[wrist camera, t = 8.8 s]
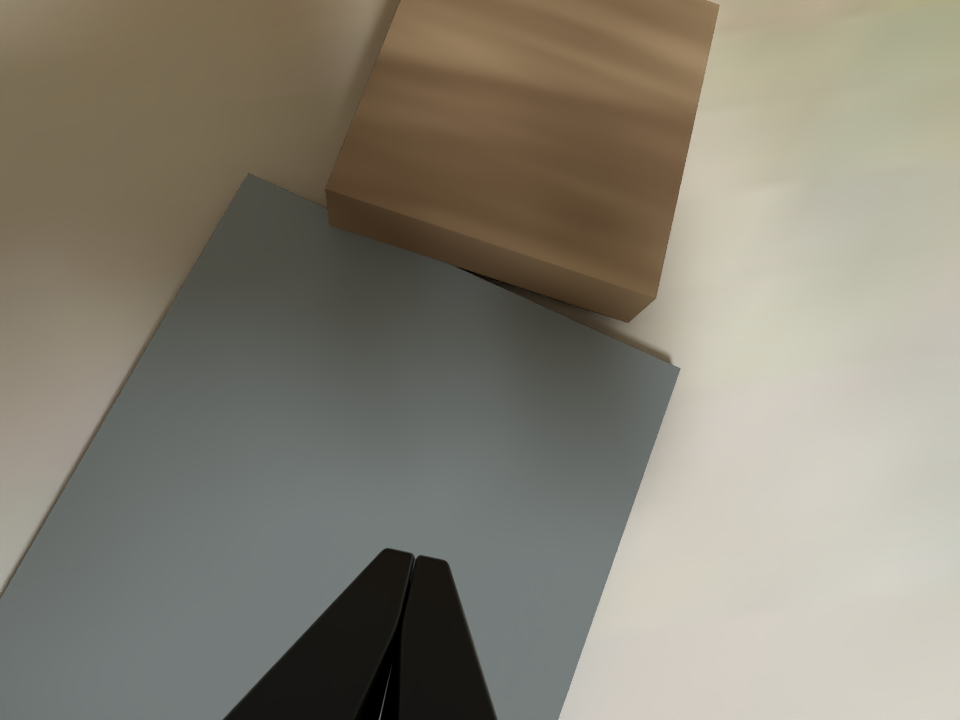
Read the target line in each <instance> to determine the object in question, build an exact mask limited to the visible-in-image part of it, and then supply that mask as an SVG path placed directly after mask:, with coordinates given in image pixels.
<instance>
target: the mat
mask: <svg viewBox="0 0 960 720" xmlns="http://www.w3.org/2000/svg"><path fill="white" fill-rule="evenodd" d="M679 371H680V368H678V367H676V366H674V365H672V364H669V363H667V362H665V361H663V360H661V359H658V358H656V357H654V356H652V355H649V354H647V353H645V352H643V351H641V350H638V349H636V348H634V347H632V346H630V345H627V344H625V343H623V342H621V341H619V340H616V339H614V338H612V337H610V336H607V335H605V334H603V333H601V332H599V331H596V330H594V329H592V328H590V327H588V326H585V325H583V324H581V323H579V322H577V321H574V320H572V319H570V318H568V317H565V316H563V315H561V314H559V313H557V312H554V311H552V310H550V309H548V308H546V307H543V306H541V305H539V304H537V303H535V302H532V301H530V300H528V299H526V298H523V297H521V296H519V295H517V294H515V293H512V292H510V291H508V290H506V289H504V288H501V287H499V286H497V285H495V284H493V283H490V282H488V281H486V280H484V279H481V278H479V277H477V276H475V275H473V274H470V273H468V272H466V271H464V270H462V269H459V268H457V267H455V266H453V265H451V264H448V263H444V262H441V261H438V260H435V259H432V258H429V257H426V256H423V255H420V254H417V253H414V252H411V251H408V250H405V249H402V248H399V247H396V246H393V245H390V244H387V243H383V242H380V241H377V240H374V239H371V238H368V237H365V236H362V235H359V234H356V233H353V232H350V231H347V230H344V229H341V228H338V227H335V226H332V225H329V218H328V209H327V208H325V207H322V206H320V205H318V204H316V203H314V202H311V201H309V200H307V199H305V198H302V197H300V196H298V195H296V194H294V193H291V192H289V191H287V190H285V189H283V188H280V187H278V186H276V185H274V184H272V183H269V182H267V181H265V180H263V179H260V178H258V177H256V176H254V175H252V174H249V173H248V175H247V176H246V178H245V180H244V182H243V183H242V185H241V187H240V188H239V190H238V192H237V194H236V195H235V197H234V199H233V200H232V202H231V204H230V206H229V207H228V209H227V211H226V212H225V214H224V216H223V218H222V219H221V221H220V223H219V224H218V226H217V228H216V230H215V231H214V233H213V235H212V236H211V238H210V240H209V242H208V243H207V245H206V247H205V248H204V250H203V252H202V254H201V255H200V257H199V259H198V260H197V262H196V264H195V266H194V267H193V269H192V271H191V272H190V274H189V276H188V278H187V279H186V281H185V283H184V284H183V286H182V288H181V290H180V291H179V293H178V295H177V296H176V298H175V300H174V302H173V303H172V305H171V307H170V308H169V310H168V312H167V314H166V315H165V317H164V319H163V320H162V322H161V324H160V326H159V327H158V329H157V331H156V332H155V334H154V336H153V338H152V339H151V341H150V343H149V344H148V346H147V348H146V350H145V351H144V353H143V355H142V356H141V358H140V360H139V362H138V363H137V365H136V367H135V368H134V370H133V372H132V374H131V375H130V377H129V379H128V380H127V382H126V384H125V386H124V387H123V389H122V391H121V392H120V394H119V396H118V398H117V399H116V401H115V403H114V404H113V406H112V408H111V410H110V411H109V413H108V415H107V416H106V418H105V420H104V422H103V423H102V425H101V427H100V428H99V430H98V432H97V434H96V435H95V437H94V439H93V440H92V442H91V444H90V446H89V447H88V449H87V451H86V452H85V454H84V456H83V458H82V459H81V461H80V463H79V464H78V466H77V468H76V470H75V471H74V473H73V475H72V477H71V478H70V480H69V482H68V483H67V485H66V487H65V489H64V490H63V492H62V494H61V495H60V497H59V499H58V501H57V502H56V504H55V506H54V507H53V509H52V511H51V513H50V514H49V516H48V518H47V519H46V521H45V523H44V525H43V526H42V528H41V530H40V531H39V533H38V535H37V537H36V538H35V540H34V542H33V543H32V545H31V547H30V549H29V550H28V552H27V554H26V555H25V557H24V559H23V561H22V562H21V564H20V566H19V567H18V569H17V571H16V573H15V574H14V576H13V578H12V579H11V581H10V583H9V585H8V586H7V588H6V590H5V591H4V593H3V595H2V597H1V598H0V720H222V719H223V718H224V717H225V716H226V715H227V714H228V713H229V712H230V711H231V710H232V709H233V708H234V707H235V706H236V704H237V703H238V702H239V701H240V700H241V699H242V698H243V697H244V696H245V695H246V694H247V693H248V692H249V691H250V690H251V689H252V688H253V686H254V685H255V684H256V683H257V682H258V681H259V680H260V679H261V678H262V677H263V676H264V675H265V674H266V673H267V672H268V671H269V669H270V668H271V667H272V666H273V665H274V664H275V663H276V662H277V661H278V660H279V659H280V658H281V657H282V656H283V655H284V654H285V653H286V651H287V650H288V649H289V648H290V647H291V646H292V645H293V644H294V643H295V642H296V641H297V640H298V639H299V638H300V637H301V636H302V634H303V633H304V632H305V631H306V630H307V629H308V628H309V627H310V626H311V625H312V624H313V623H314V622H315V621H316V620H317V619H318V617H319V616H320V615H321V614H322V613H323V612H324V611H325V610H326V609H327V608H328V607H329V606H330V605H331V604H332V603H333V602H334V601H335V599H336V598H337V597H338V596H339V595H340V594H341V593H342V592H343V591H344V590H345V589H346V588H347V587H348V586H349V585H350V584H351V582H352V581H353V580H354V579H355V578H356V577H357V576H358V575H359V574H360V573H361V572H362V571H363V570H364V569H365V568H366V567H367V566H368V564H369V563H370V562H371V561H372V560H373V559H374V558H375V557H376V556H377V555H378V554H379V553H380V552H381V551H382V550H383V549H385V548H392V549H396V550H401V551H406V552H410V553H413V554H414V556H415V560H416V558H417V557H418V556H419V555H424V556H429V557H434V558H438V559H443V560H446V561H447V562H448V564H449V566H450V569H451V572H452V575H453V578H454V581H455V584H456V588H457V591H458V594H459V597H460V600H461V603H462V607H463V610H464V613H465V616H466V619H467V622H468V626H469V629H470V632H471V635H472V638H473V641H474V645H475V648H476V651H477V654H478V657H479V660H480V664H481V667H482V670H483V673H484V676H485V679H486V683H487V686H488V689H489V692H490V695H491V698H492V702H493V705H494V708H495V711H496V714H497V717H498V720H558V718H559V715H560V713H561V710H562V707H563V704H564V701H565V698H566V695H567V692H568V690H569V687H570V684H571V681H572V678H573V675H574V672H575V669H576V667H577V664H578V661H579V658H580V655H581V652H582V649H583V647H584V644H585V641H586V638H587V635H588V632H589V629H590V626H591V624H592V621H593V618H594V615H595V612H596V609H597V606H598V603H599V601H600V598H601V595H602V592H603V589H604V586H605V583H606V581H607V578H608V575H609V572H610V569H611V566H612V563H613V560H614V558H615V555H616V552H617V549H618V546H619V543H620V540H621V537H622V535H623V532H624V529H625V526H626V523H627V520H628V517H629V515H630V512H631V509H632V506H633V503H634V500H635V497H636V494H637V492H638V489H639V486H640V483H641V480H642V477H643V474H644V472H645V469H646V466H647V463H648V460H649V457H650V454H651V451H652V449H653V446H654V443H655V440H656V437H657V434H658V431H659V428H660V426H661V423H662V420H663V417H664V414H665V411H666V408H667V406H668V403H669V400H670V397H671V394H672V391H673V388H674V385H675V383H676V380H677V377H678V374H679ZM414 563H415V562H414ZM413 568H414V567H413ZM412 572H413V571H412ZM410 581H411V580H410ZM389 675H390V674H389ZM388 680H389V679H388ZM387 684H388V683H387ZM386 689H387V688H386ZM385 693H386V692H385ZM384 698H385V697H384ZM383 703H384V701H383ZM382 707H383V705H382ZM381 712H382V710H381ZM380 717H381V714H380ZM379 720H380V718H379Z"/></svg>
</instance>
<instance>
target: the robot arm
mask: <svg viewBox="0 0 960 720" xmlns="http://www.w3.org/2000/svg"><path fill="white" fill-rule="evenodd" d="M414 562H415V563H414ZM413 567H414V568H413ZM412 571H413V572H412ZM410 580H411V581H410ZM389 674H390V675H389ZM388 679H389V680H388ZM387 683H388V684H387ZM386 688H387V689H386ZM385 692H386V693H385ZM384 697H385V698H384ZM383 701H384V703H383ZM382 705H383V707H382ZM381 710H382V712H381ZM380 714H381V717H380ZM379 718H380V720H498V717H497V714H496V711H495V708H494V705H493V702H492V698H491V695H490V692H489V689H488V686H487V683H486V679H485V676H484V673H483V670H482V667H481V664H480V660H479V657H478V654H477V651H476V648H475V645H474V641H473V638H472V635H471V632H470V629H469V626H468V622H467V619H466V616H465V613H464V610H463V607H462V603H461V600H460V597H459V594H458V591H457V588H456V584H455V581H454V578H453V575H452V572H451V569H450V566H449V564H448V562H447V561H446V560H443V559H438V558H434V557H429V556H424V555H419V556H418V557H417V558H416V560H415V556H414V554H413V553H410V552H406V551H401V550H396V549H392V548H385V549H383V550H382V551H381V552H380V553H379V554H378V555H377V556H376V557H375V558H374V559H373V560H372V561H371V562H370V563H369V564H368V566H367V567H366V568H365V569H364V570H363V571H362V572H361V573H360V574H359V575H358V576H357V577H356V578H355V579H354V580H353V581H352V582H351V584H350V585H349V586H348V587H347V588H346V589H345V590H344V591H343V592H342V593H341V594H340V595H339V596H338V597H337V598H336V599H335V601H334V602H333V603H332V604H331V605H330V606H329V607H328V608H327V609H326V610H325V611H324V612H323V613H322V614H321V615H320V616H319V617H318V619H317V620H316V621H315V622H314V623H313V624H312V625H311V626H310V627H309V628H308V629H307V630H306V631H305V632H304V633H303V634H302V636H301V637H300V638H299V639H298V640H297V641H296V642H295V643H294V644H293V645H292V646H291V647H290V648H289V649H288V650H287V651H286V653H285V654H284V655H283V656H282V657H281V658H280V659H279V660H278V661H277V662H276V663H275V664H274V665H273V666H272V667H271V668H270V669H269V671H268V672H267V673H266V674H265V675H264V676H263V677H262V678H261V679H260V680H259V681H258V682H257V683H256V684H255V685H254V686H253V688H252V689H251V690H250V691H249V692H248V693H247V694H246V695H245V696H244V697H243V698H242V699H241V700H240V701H239V702H238V703H237V704H236V706H235V707H234V708H233V709H232V710H231V711H230V712H229V713H228V714H227V715H226V716H225V717H224V718H223V719H222V720H379Z"/></svg>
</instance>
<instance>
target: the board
mask: <svg viewBox="0 0 960 720" xmlns="http://www.w3.org/2000/svg"><path fill="white" fill-rule="evenodd" d="M718 10H719V5H718V4H715V3H713V2H710V1H707V0H400V3H399V5H398V8H397V10H396V13H395V15H394V18H393V20H392V23H391V25H390V28H389V30H388V33H387V35H386V38H385V40H384V43H383V45H382V48H381V51H380V53H379V56H378V58H377V61H376V63H375V66H374V68H373V71H372V73H371V76H370V78H369V81H368V83H367V86H366V88H365V91H364V93H363V96H362V98H361V101H360V103H359V106H358V108H357V111H356V113H355V116H354V118H353V121H352V123H351V126H350V128H349V131H348V133H347V136H346V138H345V141H344V143H343V146H342V148H341V151H340V153H339V156H338V158H337V161H336V163H335V166H334V168H333V171H332V173H331V176H330V178H329V181H328V183H327V186H326V189H325V190H326V199H327V209H328V218H329V225H332V226H335V227H338V228H341V229H344V230H347V231H350V232H353V233H356V234H359V235H362V236H365V237H368V238H371V239H374V240H377V241H380V242H383V243H387V244H390V245H393V246H396V247H399V248H402V249H405V250H408V251H411V252H414V253H417V254H420V255H423V256H426V257H429V258H432V259H435V260H438V261H441V262H444V263H448V264H451V265H454V266H457V267H460V268H463V269H466V270H469V271H472V272H475V273H478V274H481V275H484V276H487V277H490V278H493V279H496V280H499V281H502V282H506V283H509V284H512V285H515V286H518V287H521V288H524V289H527V290H530V291H533V292H536V293H539V294H542V295H545V296H548V297H551V298H554V299H557V300H560V301H563V302H567V303H570V304H573V305H576V306H579V307H582V308H585V309H588V310H591V311H594V312H597V313H600V314H603V315H606V316H609V317H612V318H615V319H618V320H621V321H625V322H628V323H629V322H630V321H631V320H632V319H633V318H634V317H635V316H636V315H638V314H639V313H640V312H641V311H642V310H643V309H644V308H645V307H647V306H648V305H649V304H650V303H651V302H652V301H653V300H654V299H655V298H656V295H657V290H658V286H659V281H660V277H661V272H662V267H663V263H664V258H665V254H666V249H667V244H668V240H669V235H670V231H671V226H672V221H673V217H674V212H675V208H676V203H677V198H678V194H679V189H680V185H681V180H682V175H683V171H684V166H685V162H686V157H687V152H688V148H689V143H690V139H691V134H692V129H693V125H694V120H695V116H696V111H697V106H698V102H699V97H700V93H701V88H702V84H703V79H704V74H705V70H706V65H707V61H708V56H709V51H710V47H711V42H712V38H713V33H714V28H715V24H716V19H717V15H718Z"/></svg>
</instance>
